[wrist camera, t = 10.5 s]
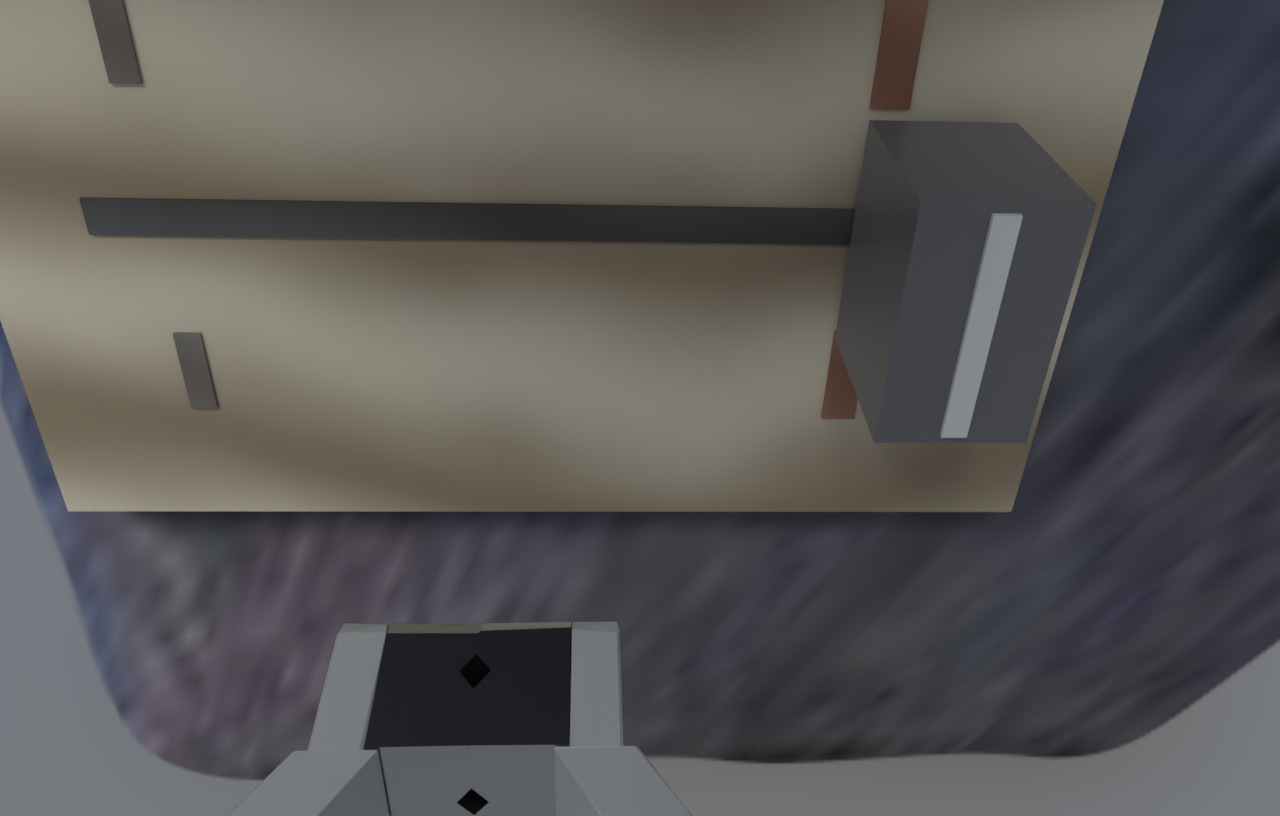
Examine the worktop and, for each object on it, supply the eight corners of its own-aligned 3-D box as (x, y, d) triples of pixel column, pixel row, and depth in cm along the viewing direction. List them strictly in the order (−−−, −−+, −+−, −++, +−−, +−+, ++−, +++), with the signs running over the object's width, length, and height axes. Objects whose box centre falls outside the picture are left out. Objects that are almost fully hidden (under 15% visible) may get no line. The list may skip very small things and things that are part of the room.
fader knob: (869, 120, 21) (922, 203, 18) (1017, 122, 21) (1098, 205, 18) (835, 337, 24) (875, 445, 20) (966, 339, 24) (1027, 446, 20)
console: (-130, -246, 19) (-203, -239, 17) (1169, -201, 20) (1223, -191, 18) (98, 462, 28) (66, 513, 26) (987, 465, 29) (1012, 514, 27)
